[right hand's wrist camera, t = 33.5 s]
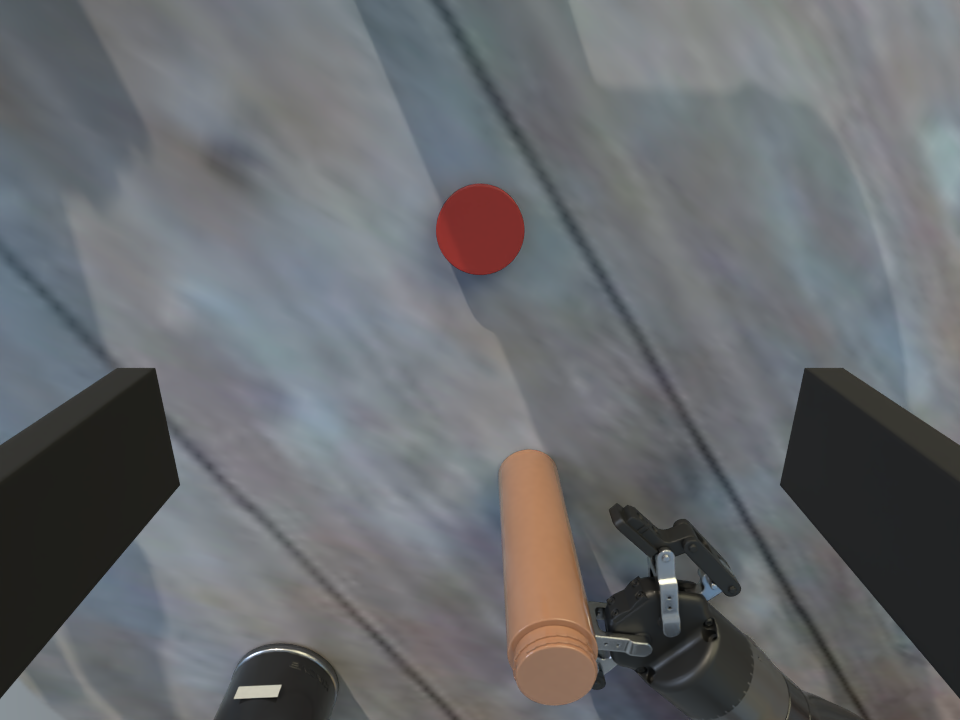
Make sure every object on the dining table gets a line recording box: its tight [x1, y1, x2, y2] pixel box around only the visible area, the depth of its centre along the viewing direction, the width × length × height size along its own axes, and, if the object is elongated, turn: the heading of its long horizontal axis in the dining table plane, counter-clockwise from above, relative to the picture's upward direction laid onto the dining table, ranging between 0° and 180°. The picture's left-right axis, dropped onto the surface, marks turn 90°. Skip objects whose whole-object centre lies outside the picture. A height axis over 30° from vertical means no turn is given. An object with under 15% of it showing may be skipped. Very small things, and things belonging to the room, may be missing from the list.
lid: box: [436, 184, 524, 275], centre depth 39 cm, size 6×6×2 cm
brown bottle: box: [498, 450, 598, 706], centre depth 38 cm, size 5×5×18 cm
